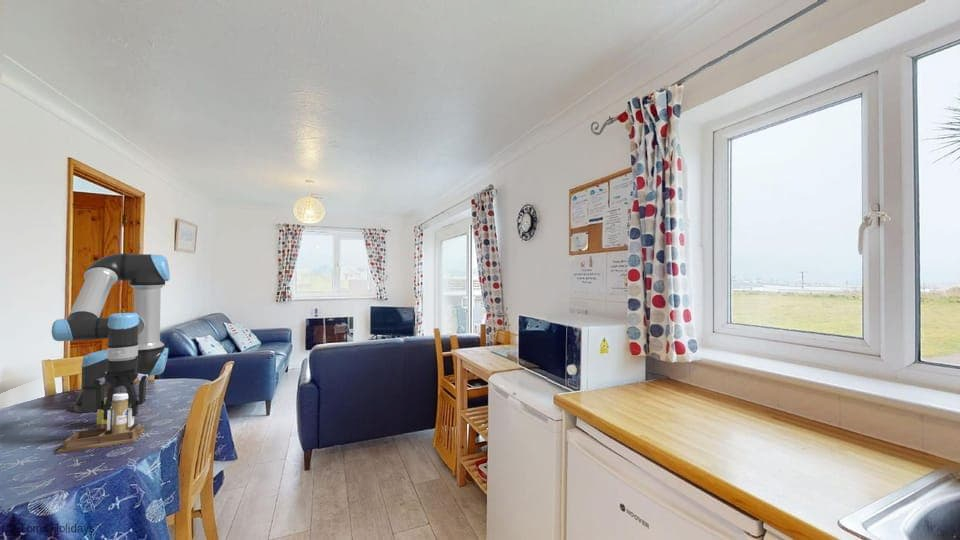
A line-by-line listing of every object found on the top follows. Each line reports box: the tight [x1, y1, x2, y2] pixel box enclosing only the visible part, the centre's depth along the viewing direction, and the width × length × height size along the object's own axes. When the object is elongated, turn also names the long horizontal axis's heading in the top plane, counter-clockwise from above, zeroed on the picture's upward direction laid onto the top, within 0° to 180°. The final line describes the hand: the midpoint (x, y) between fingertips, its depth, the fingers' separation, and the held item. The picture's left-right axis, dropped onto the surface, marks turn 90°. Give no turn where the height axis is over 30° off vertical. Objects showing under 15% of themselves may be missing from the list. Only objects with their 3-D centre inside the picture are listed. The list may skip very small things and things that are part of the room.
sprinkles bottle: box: [111, 390, 131, 434], centre depth 122 cm, size 5×5×13 cm
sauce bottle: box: [96, 372, 122, 429], centre depth 132 cm, size 6×6×20 cm
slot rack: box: [55, 422, 148, 455], centre depth 120 cm, size 12×18×3 cm, turn 117°
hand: (120, 427), depth 122 cm, fingers open, 4 cm apart
